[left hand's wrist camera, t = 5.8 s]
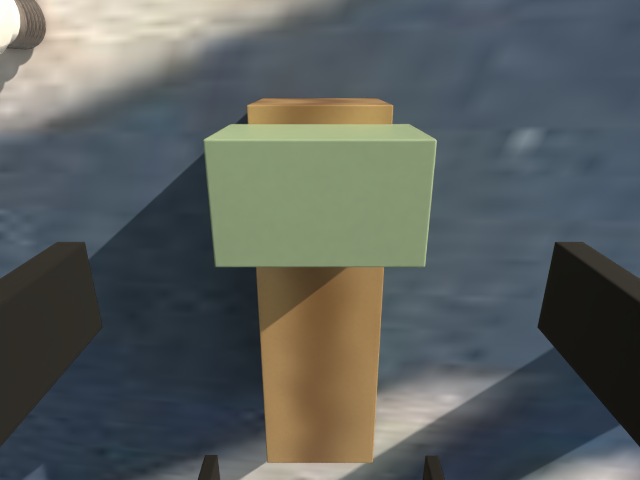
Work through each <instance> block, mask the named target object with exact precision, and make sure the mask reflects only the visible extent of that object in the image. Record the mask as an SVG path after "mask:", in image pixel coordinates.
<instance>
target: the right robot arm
mask: <svg viewBox="0 0 640 480" xmlns="http://www.w3.org/2000/svg"><path fill="white" fill-rule="evenodd" d="M198 480H220V474H219V466H218V457H217V455H205V457H204V461H203V464H202V467H201V471H200V474H199V477H198ZM423 480H445V478H444V475H443V472H442V468H441V465H440V462H439V458H438V456H426V457H425V465H424V473H423Z"/></svg>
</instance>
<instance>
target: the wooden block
mask: <svg viewBox="0 0 640 480" xmlns="http://www.w3.org/2000/svg"><path fill="white" fill-rule="evenodd" d="M392 115H393V105H390V104H388V103H386V102H384V101H381V100H379V99H377V98H263V99H261V100H259V101H256V102H254V103H252V104H250V105H247V116H248V124H392ZM383 272H384V267H256V273H257V290H258V307H259V325H260V342H261V360H262V377H263V395H264V412H265V430H266V447H267V462H268V463H372V462H373V447H374V429H375V412H376V395H377V377H378V360H379V342H380V325H381V307H382V290H383Z"/></svg>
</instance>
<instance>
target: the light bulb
mask: <svg viewBox="0 0 640 480" xmlns="http://www.w3.org/2000/svg"><path fill="white" fill-rule="evenodd" d="M45 31H46V24H45V19H44V15H43V13H42V11H41V9H40V7H39V5H38V4H37V2H36V1H35V0H0V55H1V54H2V53H3V52H4V51H5V50H6V48H17V49H30V48H34V47H36V46H37V45H39V44H40V43H41V41H42V40H43V38H44V35H45Z"/></svg>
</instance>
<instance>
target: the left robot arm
mask: <svg viewBox="0 0 640 480" xmlns="http://www.w3.org/2000/svg"><path fill="white" fill-rule="evenodd" d="M101 328H102V323H101V318H100V313H99V308H98V303H97V299H96V294H95V289H94V284H93V279H92V275H91V270H90V265H89V260H88V255H87V250H86V246H85V242H57V243H55V244H54V245H52V246H50V247H49V248H47V249H46V250H44V251H43V252H41V253H40V254H38V255H36V256H35V257H33V258H32V259H30V260H29V261H27V262H26V263H24V264H22V265H21V266H19V267H18V268H16V269H15V270H13V271H12V272H10V273H9V274H7V275H5V276H4V277H2V278H1V279H0V447H1V445H2V444H3V443H4V442H5V441H6V439H7V438H8V437H9V436H10V435H11V434H12V432H13V431H14V430H15V429H16V428H17V427H18V425H19V424H20V423H21V422H22V421H23V420H24V418H25V417H26V416H27V415H28V414H29V413H30V411H31V410H32V409H33V408H34V407H35V406H36V404H37V403H38V402H39V401H40V400H41V399H42V397H43V396H44V395H45V394H46V393H47V392H48V390H49V389H50V388H51V387H52V386H53V384H54V383H55V382H56V381H57V380H58V379H59V377H60V376H61V375H62V374H63V373H64V372H65V370H66V369H67V368H68V367H69V366H70V365H71V363H72V362H73V361H74V360H75V359H76V358H77V356H78V355H79V354H80V353H81V352H82V351H83V349H84V348H85V347H86V346H87V345H88V344H89V342H90V341H91V340H92V339H93V338H94V337H95V335H96V334H97V333H98V332H99V331H100V329H101ZM538 328H539V330H540V331H541V332H542V333H543V334H544V335H545V337H546V338H547V339H548V340H549V341H550V342H551V344H552V345H553V346H554V347H555V348H556V349H557V351H558V352H559V353H560V354H561V355H562V356H563V358H564V359H565V360H566V361H567V362H568V363H569V365H570V366H571V367H572V368H573V369H574V370H575V372H576V373H577V374H578V375H579V376H580V377H581V379H582V380H583V381H584V382H585V383H586V384H587V386H588V387H589V388H590V389H591V390H592V392H593V393H594V394H595V395H596V396H597V397H598V399H599V400H600V401H601V402H602V403H603V404H604V406H605V407H606V408H607V409H608V410H609V411H610V413H611V414H612V415H613V416H614V417H615V418H616V420H617V421H618V422H619V423H620V424H621V425H622V427H623V428H624V429H625V430H626V431H627V432H628V434H629V435H630V436H631V437H632V438H633V439H634V441H635V442H636V443H637V444H638V445H639V447H640V279H639V278H638V277H636V276H635V275H633V274H631V273H630V272H628V271H627V270H625V269H624V268H622V267H621V266H619V265H618V264H616V263H614V262H613V261H611V260H610V259H608V258H607V257H605V256H604V255H602V254H600V253H599V252H597V251H596V250H594V249H593V248H591V247H590V246H588V245H586V244H585V243H583V242H555V246H554V250H553V255H552V260H551V265H550V270H549V275H548V279H547V284H546V289H545V294H544V299H543V303H542V308H541V313H540V318H539V323H538Z"/></svg>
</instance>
